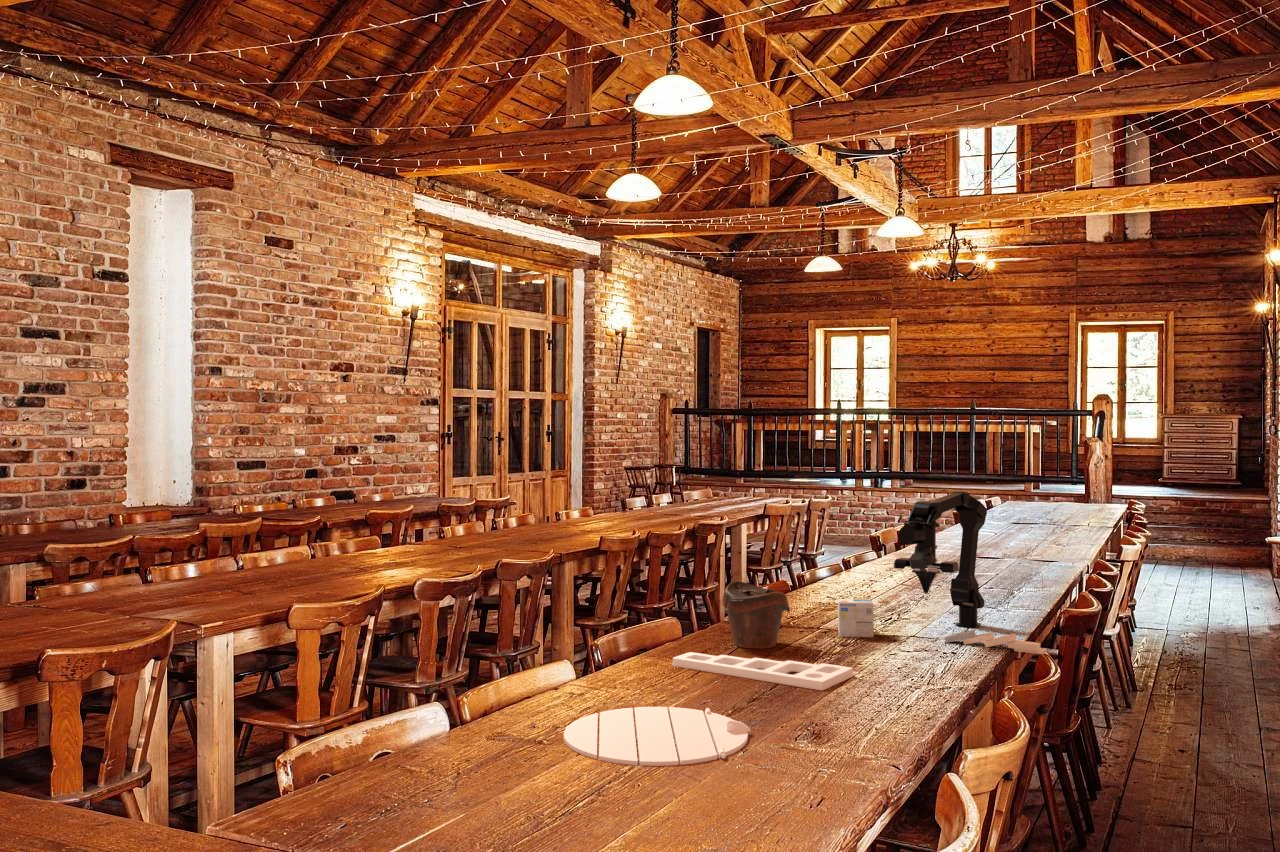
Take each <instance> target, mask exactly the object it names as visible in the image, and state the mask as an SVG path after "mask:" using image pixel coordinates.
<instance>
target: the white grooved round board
mask: <svg viewBox="0 0 1280 852" xmlns="http://www.w3.org/2000/svg"><path fill="white" fill-rule="evenodd" d="M598 720H599V721H598ZM634 720H635V721H634ZM598 727H599V729H598ZM598 731H599V733H598ZM751 732H752V730H751V728H750V727H749V726H747V724H745V723H743V722H742V721H739V720H735V719H733V718H731V717H728V716H726V715H723V714H718V713H715V712H712V711H711V709H710V708H709V707H706V708H705V710H704V711H703V710H701V709H697V708H696V709H694V708H688V707H678V706H677V707H676V706H675V707H674V706H669V707H667V706H634V708H633V707H625V708H618V709H617V708H616V709H609V710H603V711H600V712H596V713H591V714H589V715H588V714H587V715H585V716H583V717H580V718H578V719H575V720H574V721H572V722H571V723H569V725H567V726H566V728H564V731H563V741H564V744H565V745H566V746H567V747H568V748H569V749H571V750H572V751H574V752H575V753H577V754H580V755H583V756H585V757H588V758H591V759H595V760H599V761H602V762H608V763H614V764H621V765H630V766H638V765H639V766H642V767H644V766H646V767H647V766H648V767H653V766H654V767H657V766H659V767H661V766H662V767H663V766H664V767H670V766H679V762H680V765H682V766H683V765H692V764H693V765H694V764H699V763H705V762H709V761H714V760H717V759H718V758H719V759H723V760H724V759H726V757H727V756H730V755H733V754H734V753H736V752H738V751H739V750H741V749H742V748H744V747H745V746H746V745H747V744H748V743H747V742H748V740H749V733H751ZM598 734H599V737H598ZM598 738H599V739H598ZM598 741H599V743H598ZM598 744H599V745H598ZM598 746H599V747H598ZM598 748H599V749H598ZM637 751H638V752H637Z"/></svg>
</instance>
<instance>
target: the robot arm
mask: <svg viewBox="0 0 1280 852" xmlns="http://www.w3.org/2000/svg"><path fill="white" fill-rule="evenodd" d="M952 509H953V510H954V511H955V512H956V514H958V522H959V524H960V526H961V529H962V535H961V545H960V556H959V563H958V562H957V561H950V560H945V561H942V562H940V563H939V562H938V558H936V557H937V553H936V552H937V551H936V550H937V549H938V545H936V544H937V543H936V541H937V539H936V536H937V534H936V531H937V530H936V528H939V527H940V526H941V525H940V524H939V523H938V522H937V520H939V519H940V518H941V517H942V515H943V514H944V513H946V512H948V511H950V510H952ZM987 514H988V511H987V508H986V506H985V505H984V504H983V503H982V502H981V501H979V500H978V499H976V498H975V497H973V496H971V495H970V493H969V492H967V491H963V490H962V491H960V490H959V491H957V490H955V491H952V492H951V493H949V494H946V495H944V496H942V497H939V498H936V499H934V500H920V501H916V502H915V503H914V505H913V507H912V509H911V511H910V513H909V516H908V518H907V521H906V522H903V527H901V528H900V529H899V531H898V535H897V537H898V540H899V542H900V543H901V544H902V545H904V546H911V545H916V546H915V547H914V552H913V553H912V554H911V556H910V557H899V558H896V559H895V560H894V563H893V568H894V569H898V570H899V569H900V570H901V569H902V570H903V569H905V568H907V567H910V569H912V570H911V572H912V573H914V574H915V575H916V576H917V577H918V580H919V582H920V585H921V588H922V591H923V594H929V591H930V588H931V587H932V584H933V582H934V579H935V577H936V576H937V574H938V573H947V574H954V573H957V572H958V574H957V575H956V576H955V578H951V580H950V589H949V591H950V592H949V593H950V598H951V601H952V605H953V606H957V607H958V622H957V623H955V626H957V627H964V628H972V629H973V628H975V629H976V628H977V627H979V626H981V625H982V622H981V623H980V622H978V610H979V609H982V608H984V607H985V601H986V600H985V599H984V597H983V596H982V594H981V593H980V585H979V583H978V580H977V578H976V576H975V573H976V564H977V563H976V562H977V555H978V554H977V552H978V544H979V543H978V542H979V532H980V530H981V529H982V528H983V526H984V525H985V523H986V518H987Z"/></svg>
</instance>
